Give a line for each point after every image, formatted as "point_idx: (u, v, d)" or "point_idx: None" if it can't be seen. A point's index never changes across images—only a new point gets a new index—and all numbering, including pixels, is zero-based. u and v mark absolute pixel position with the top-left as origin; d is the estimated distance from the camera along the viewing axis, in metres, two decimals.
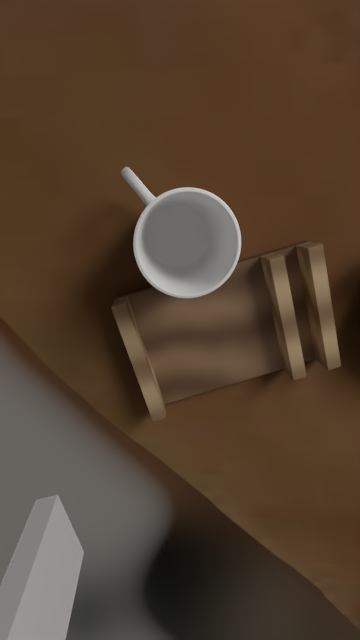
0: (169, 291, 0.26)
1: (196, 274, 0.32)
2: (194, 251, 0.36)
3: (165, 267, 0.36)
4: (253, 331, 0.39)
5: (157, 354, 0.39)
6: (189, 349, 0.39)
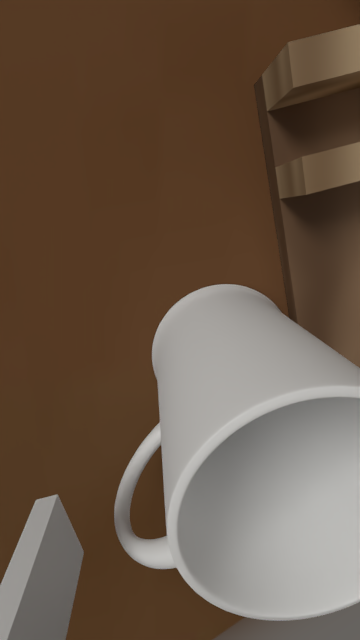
0: None
1: None
2: None
3: None
4: None
5: None
6: None
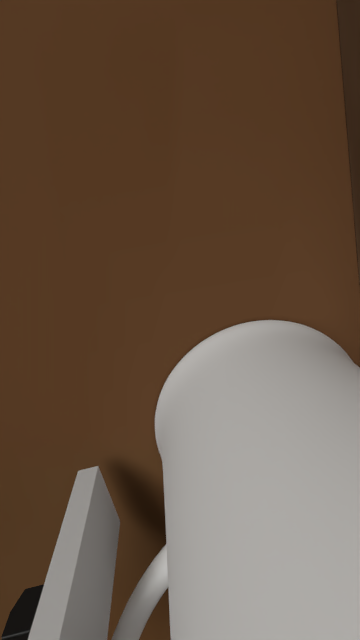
0: None
1: None
2: None
3: None
4: None
5: None
6: None
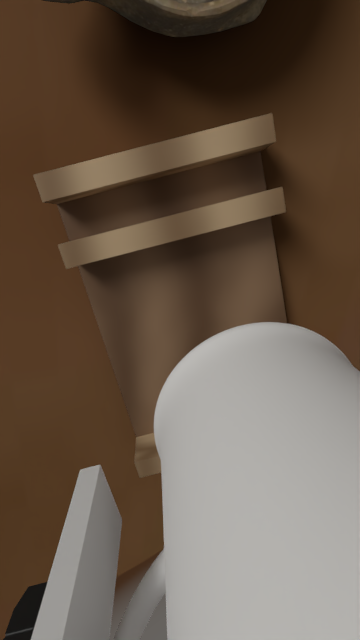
0: None
1: None
2: None
3: None
4: (197, 268, 0.24)
5: None
6: None
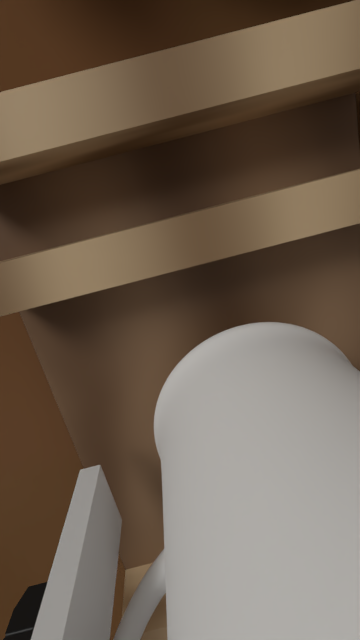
0: None
1: None
2: None
3: None
4: (230, 307, 0.14)
5: None
6: None
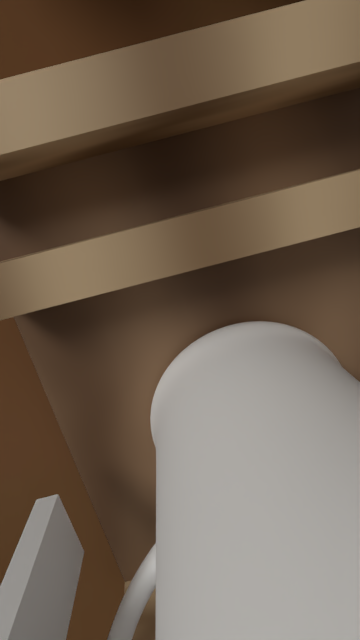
0: None
1: None
2: None
3: None
4: (234, 311, 0.13)
5: None
6: None
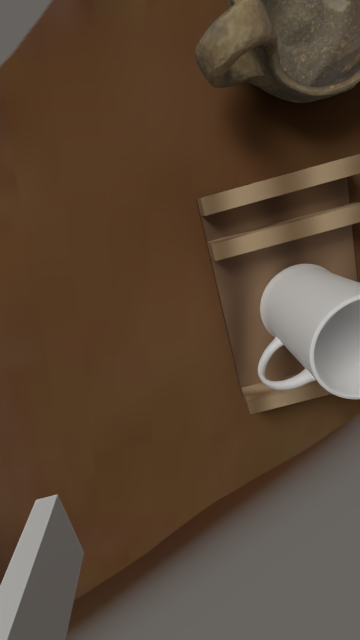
0: None
1: None
2: None
3: (335, 320, 0.34)
4: (296, 260, 0.33)
5: None
6: None
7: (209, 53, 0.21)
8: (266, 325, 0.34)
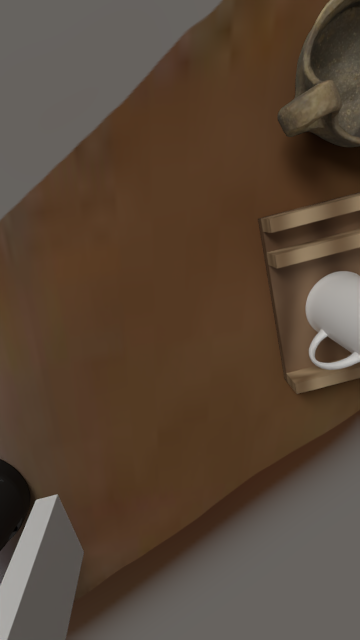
0: None
1: None
2: None
3: None
4: (335, 268, 0.41)
5: (340, 352, 0.45)
6: None
7: (294, 117, 0.29)
8: (310, 320, 0.42)
